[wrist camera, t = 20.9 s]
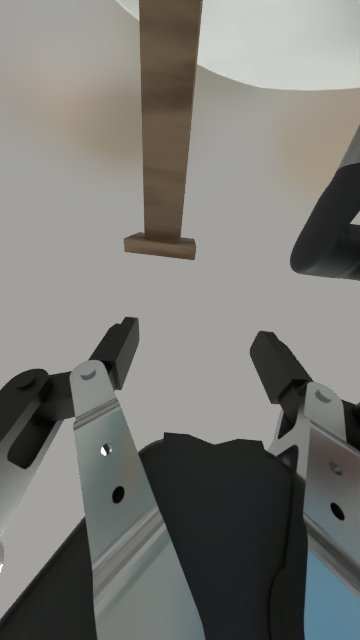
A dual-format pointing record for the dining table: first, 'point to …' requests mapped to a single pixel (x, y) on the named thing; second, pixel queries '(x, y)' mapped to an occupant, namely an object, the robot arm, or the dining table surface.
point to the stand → (166, 121)
